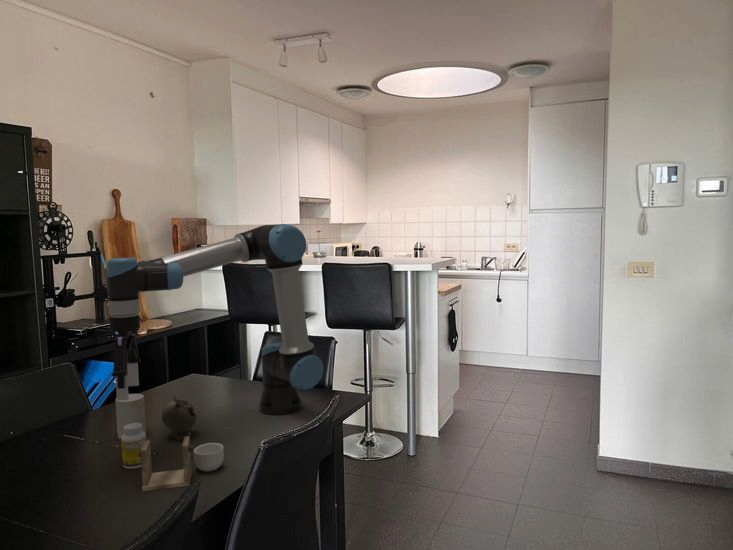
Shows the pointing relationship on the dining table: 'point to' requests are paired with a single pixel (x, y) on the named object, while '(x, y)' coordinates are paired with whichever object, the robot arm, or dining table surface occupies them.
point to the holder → (167, 477)
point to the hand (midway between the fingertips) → (128, 392)
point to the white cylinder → (130, 412)
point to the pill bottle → (132, 445)
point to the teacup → (209, 456)
